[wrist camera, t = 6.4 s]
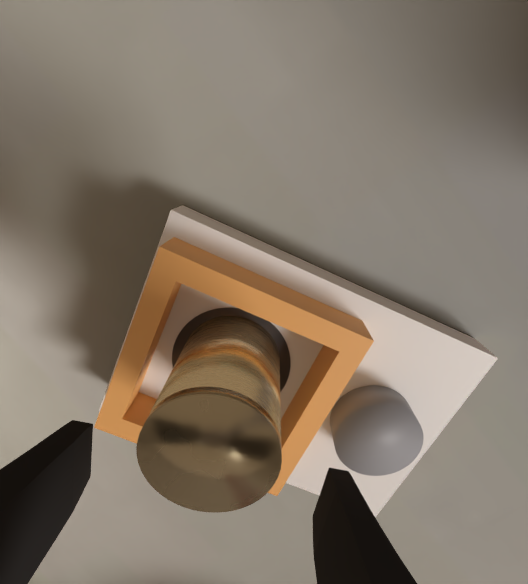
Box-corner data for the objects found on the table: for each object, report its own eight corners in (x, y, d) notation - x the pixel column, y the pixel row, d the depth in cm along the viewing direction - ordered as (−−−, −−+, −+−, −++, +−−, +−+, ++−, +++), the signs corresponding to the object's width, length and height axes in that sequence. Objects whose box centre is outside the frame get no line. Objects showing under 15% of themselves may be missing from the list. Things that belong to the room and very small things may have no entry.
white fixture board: (474, 338, 18) (527, 382, 14) (366, 486, 22) (386, 553, 18) (182, 205, 16) (155, 215, 13) (115, 388, 20) (77, 439, 16)
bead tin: (287, 324, 16) (294, 409, 10) (270, 407, 17) (268, 521, 12) (188, 308, 16) (139, 385, 10) (179, 392, 17) (133, 501, 12)
